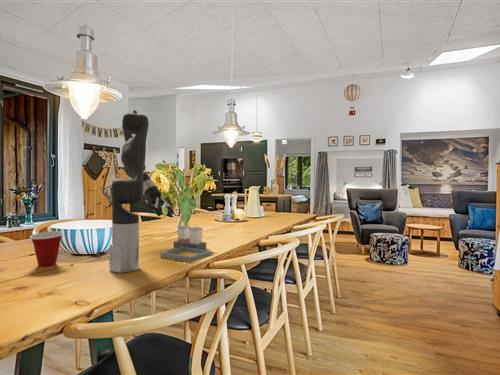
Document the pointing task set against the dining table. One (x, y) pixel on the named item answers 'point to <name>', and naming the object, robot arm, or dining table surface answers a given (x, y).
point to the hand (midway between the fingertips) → (166, 214)
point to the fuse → (196, 235)
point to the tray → (187, 258)
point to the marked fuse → (183, 233)
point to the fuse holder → (190, 245)
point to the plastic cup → (46, 247)
